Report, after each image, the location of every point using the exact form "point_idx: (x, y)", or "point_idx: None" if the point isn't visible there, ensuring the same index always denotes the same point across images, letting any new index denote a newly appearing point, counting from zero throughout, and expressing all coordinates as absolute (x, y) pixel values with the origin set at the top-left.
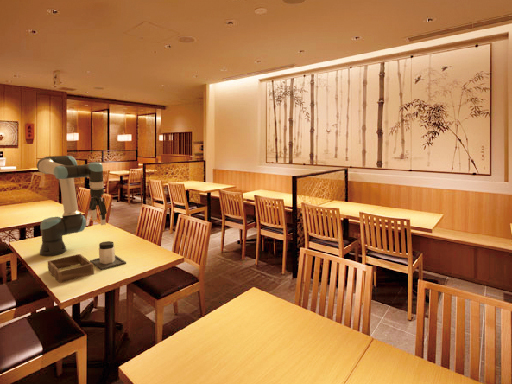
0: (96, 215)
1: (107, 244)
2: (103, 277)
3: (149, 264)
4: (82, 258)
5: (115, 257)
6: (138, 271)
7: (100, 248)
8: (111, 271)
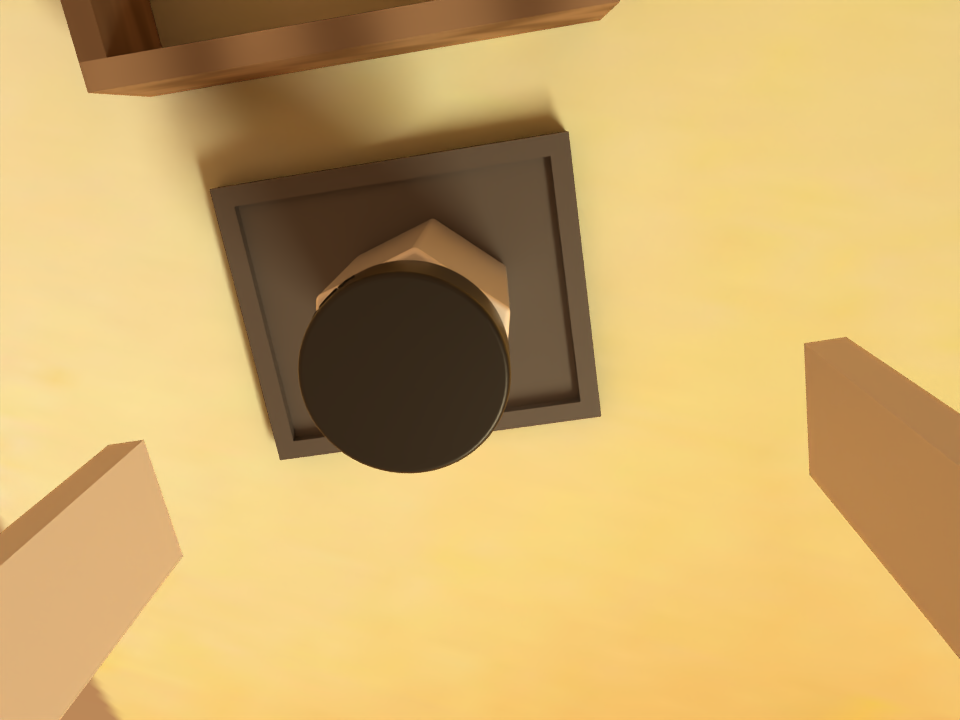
0: (875, 549)
1: (324, 378)
2: (2, 167)
3: (155, 617)
4: (411, 5)
5: (517, 406)
6: (18, 489)
7: (370, 267)
8: (137, 275)
